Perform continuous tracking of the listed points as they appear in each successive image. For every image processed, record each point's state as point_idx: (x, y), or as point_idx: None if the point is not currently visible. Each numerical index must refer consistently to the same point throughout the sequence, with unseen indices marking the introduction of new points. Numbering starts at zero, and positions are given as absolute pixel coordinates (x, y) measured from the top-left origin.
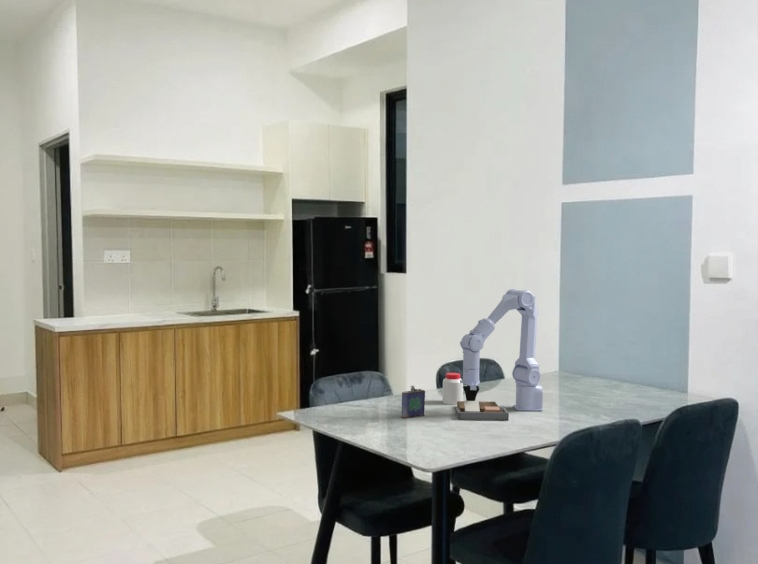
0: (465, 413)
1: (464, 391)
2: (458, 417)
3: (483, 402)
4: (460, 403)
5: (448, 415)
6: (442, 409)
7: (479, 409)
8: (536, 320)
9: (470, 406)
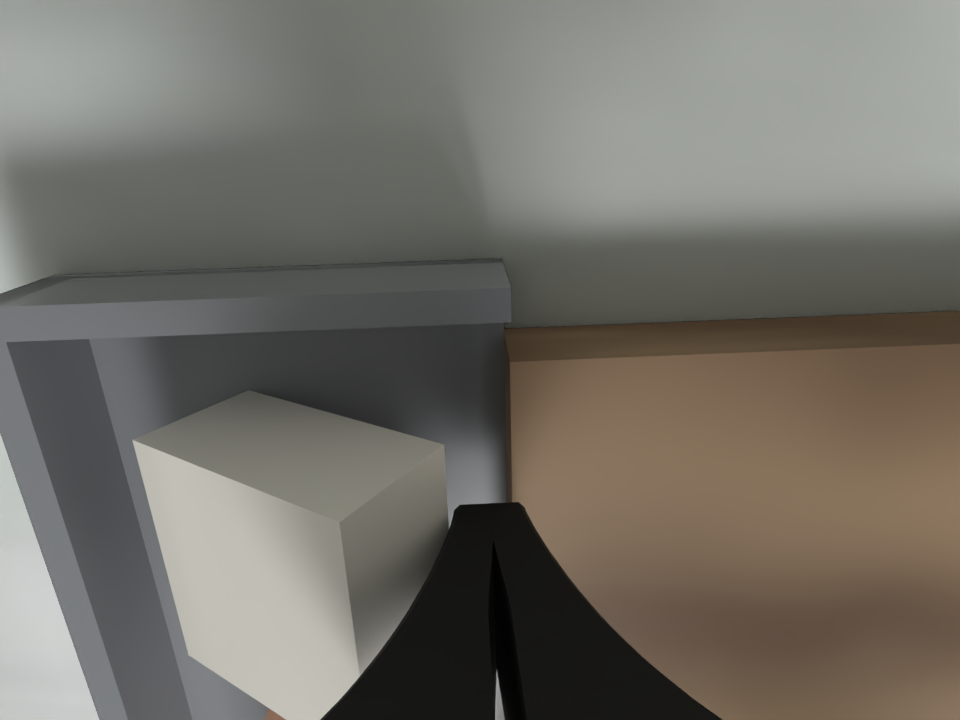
0: (9, 426)
1: (658, 696)
2: (74, 280)
3: (946, 716)
4: (937, 385)
5: (361, 107)
6: (876, 8)
7: (213, 671)
8: None
9: (235, 571)
